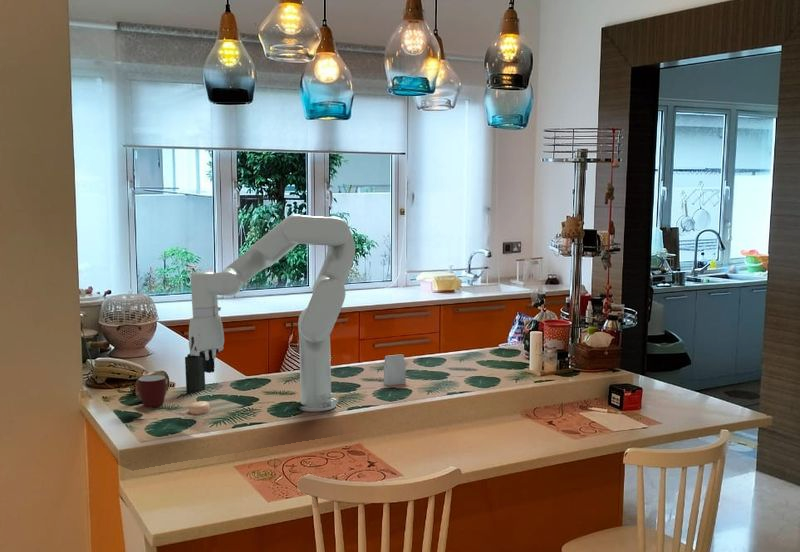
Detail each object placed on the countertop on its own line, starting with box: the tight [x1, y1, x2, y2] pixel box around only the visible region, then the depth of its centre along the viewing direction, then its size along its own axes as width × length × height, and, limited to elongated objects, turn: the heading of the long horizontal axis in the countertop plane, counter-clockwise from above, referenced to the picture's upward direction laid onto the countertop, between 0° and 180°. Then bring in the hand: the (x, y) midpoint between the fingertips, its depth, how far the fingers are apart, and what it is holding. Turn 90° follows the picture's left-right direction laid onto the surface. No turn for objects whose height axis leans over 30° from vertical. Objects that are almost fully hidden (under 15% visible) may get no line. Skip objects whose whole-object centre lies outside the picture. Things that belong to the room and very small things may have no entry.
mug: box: [138, 375, 166, 408], centre depth 245 cm, size 11×8×10 cm
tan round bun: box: [188, 400, 211, 415], centre depth 237 cm, size 6×6×3 cm
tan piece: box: [170, 398, 245, 420], centre depth 240 cm, size 13×18×2 cm
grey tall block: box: [383, 353, 407, 386], centre depth 274 cm, size 4×7×10 cm, turn 111°
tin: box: [134, 370, 170, 402], centre depth 258 cm, size 15×3×8 cm, turn 160°
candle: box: [184, 348, 206, 395], centre depth 262 cm, size 5×5×25 cm
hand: (209, 371), depth 239 cm, fingers closed
